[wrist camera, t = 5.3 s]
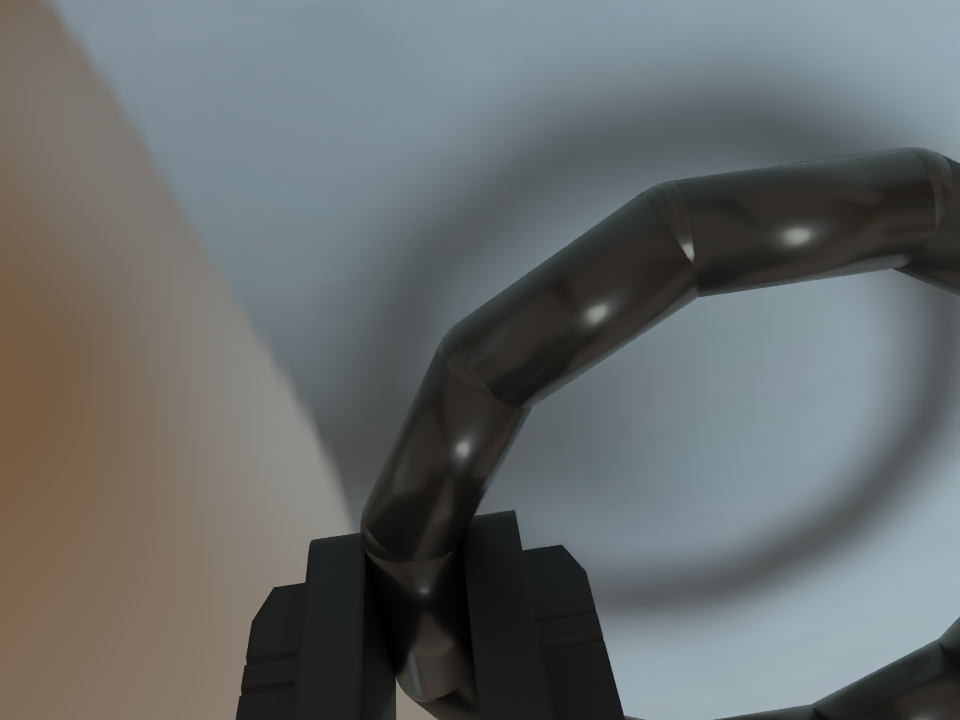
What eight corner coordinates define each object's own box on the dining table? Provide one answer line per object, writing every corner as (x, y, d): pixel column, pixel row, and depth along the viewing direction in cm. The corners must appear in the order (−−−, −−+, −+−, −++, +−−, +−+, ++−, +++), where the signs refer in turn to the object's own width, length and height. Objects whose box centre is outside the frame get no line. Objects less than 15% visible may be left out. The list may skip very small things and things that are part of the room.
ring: (432, 795, 14) (435, 869, 13) (294, 217, 9) (283, 267, 8) (1039, 698, 15) (1088, 764, 14) (1238, 81, 9) (1342, 112, 8)
